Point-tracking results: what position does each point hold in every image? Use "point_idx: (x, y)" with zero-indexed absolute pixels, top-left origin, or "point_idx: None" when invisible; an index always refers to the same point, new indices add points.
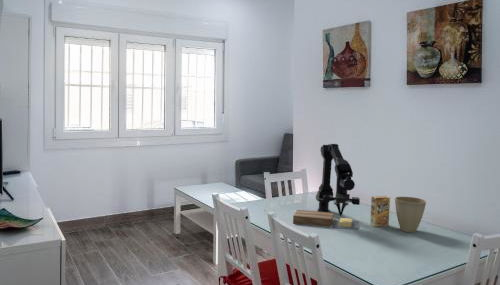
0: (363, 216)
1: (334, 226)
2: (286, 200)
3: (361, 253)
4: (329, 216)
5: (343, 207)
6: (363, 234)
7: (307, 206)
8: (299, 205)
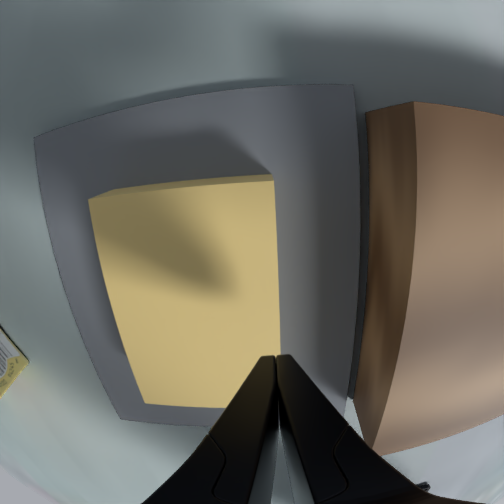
0: (150, 495)
1: (330, 112)
2: (495, 494)
3: None
4: (452, 290)
5: (188, 499)
6: (8, 34)
7: None
8: (477, 489)
